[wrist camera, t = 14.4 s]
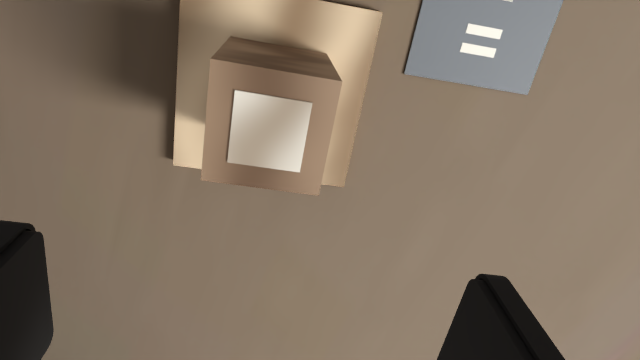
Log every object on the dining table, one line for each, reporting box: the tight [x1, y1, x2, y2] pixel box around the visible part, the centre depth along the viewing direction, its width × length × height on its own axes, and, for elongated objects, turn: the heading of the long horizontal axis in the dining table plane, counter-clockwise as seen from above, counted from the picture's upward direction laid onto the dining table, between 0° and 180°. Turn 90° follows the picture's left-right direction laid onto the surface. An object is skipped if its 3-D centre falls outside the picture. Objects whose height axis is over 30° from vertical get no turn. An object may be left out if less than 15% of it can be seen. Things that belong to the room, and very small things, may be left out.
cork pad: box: [173, 0, 383, 187], centre depth 28 cm, size 12×12×1 cm
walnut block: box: [201, 36, 342, 196], centre depth 24 cm, size 6×6×8 cm
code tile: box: [404, 0, 563, 95], centre depth 28 cm, size 9×9×1 cm
